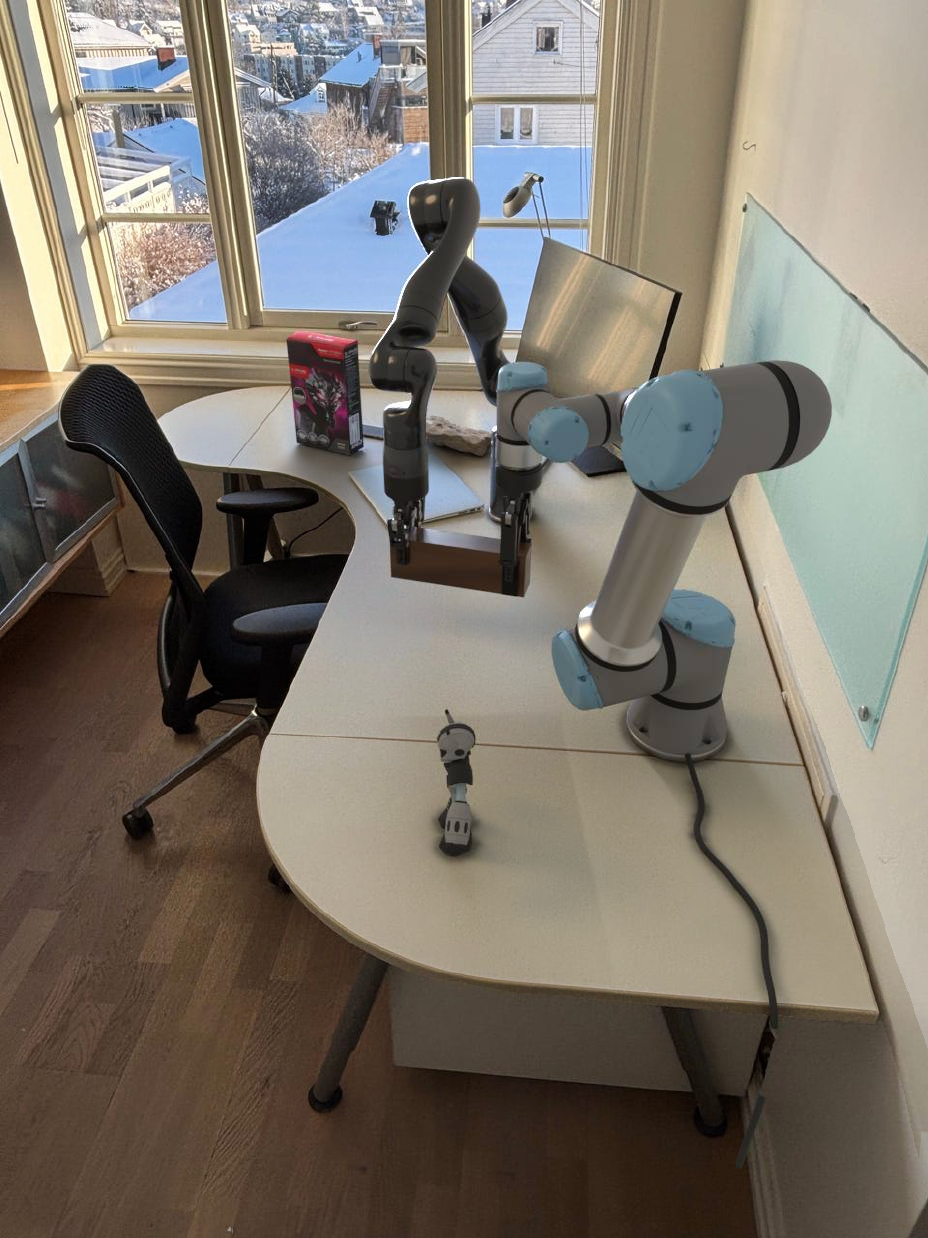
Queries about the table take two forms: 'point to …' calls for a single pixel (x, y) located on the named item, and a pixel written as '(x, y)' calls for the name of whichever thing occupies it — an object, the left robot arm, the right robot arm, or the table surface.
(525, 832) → the table surface
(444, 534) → the walnut beam
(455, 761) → the robot
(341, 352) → the graphics card box
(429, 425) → the stone
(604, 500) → the table surface
